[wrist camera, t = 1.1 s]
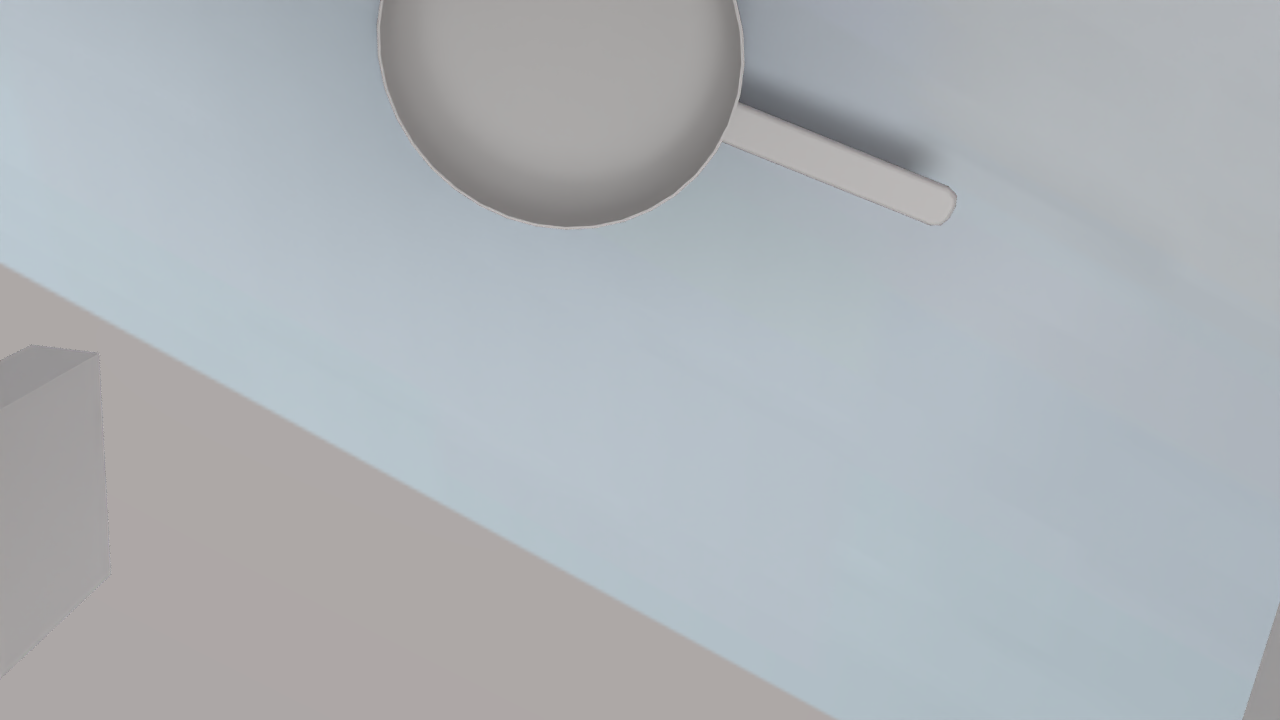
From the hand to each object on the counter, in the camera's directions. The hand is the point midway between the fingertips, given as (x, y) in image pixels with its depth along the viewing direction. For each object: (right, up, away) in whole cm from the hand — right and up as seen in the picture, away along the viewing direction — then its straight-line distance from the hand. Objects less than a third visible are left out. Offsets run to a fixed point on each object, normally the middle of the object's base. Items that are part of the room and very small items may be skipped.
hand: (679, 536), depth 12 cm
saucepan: (+1, +11, +24) cm, 27 cm away
